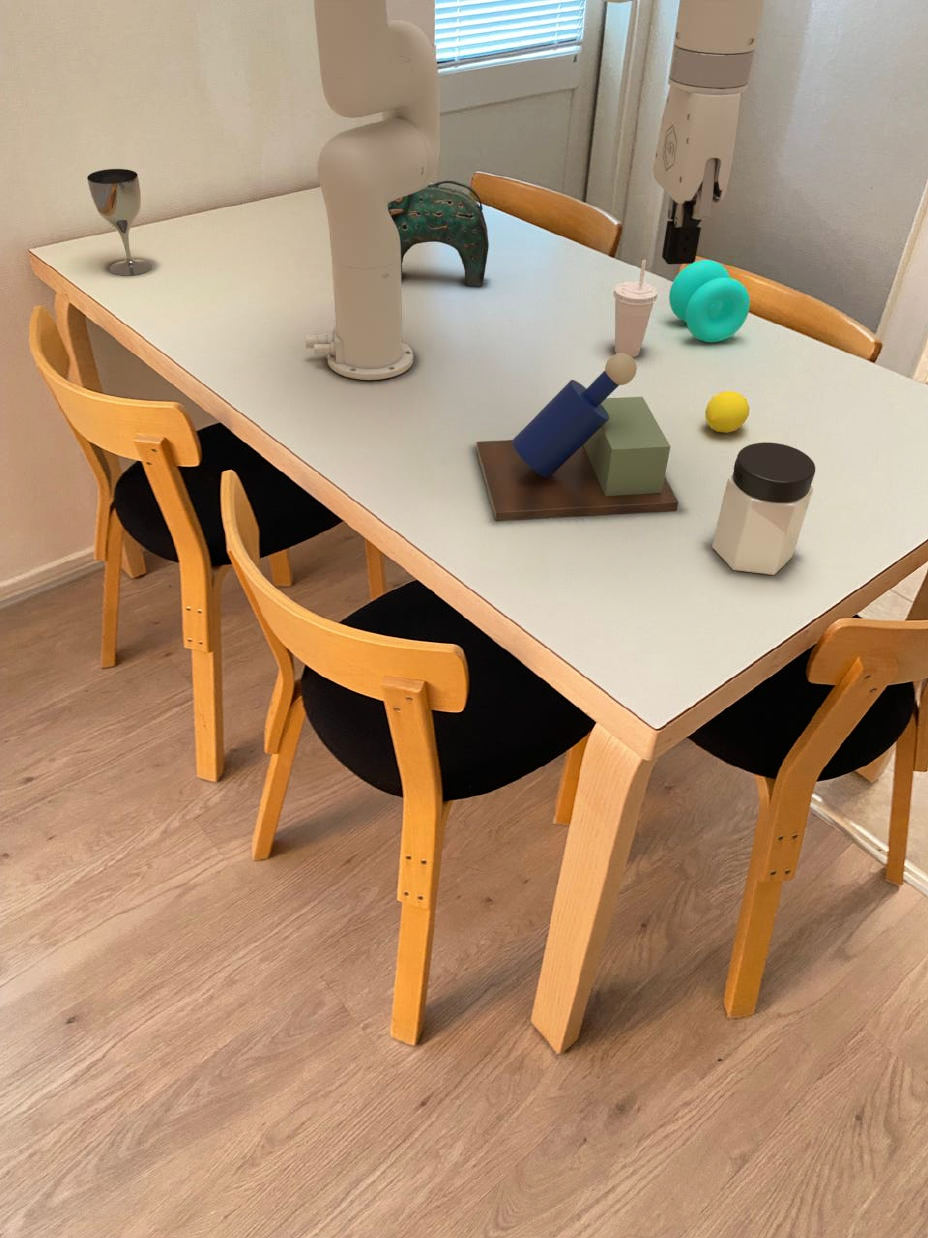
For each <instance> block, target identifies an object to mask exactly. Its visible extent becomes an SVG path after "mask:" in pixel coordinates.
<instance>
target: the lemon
mask: <svg viewBox="0 0 928 1238" xmlns="http://www.w3.org/2000/svg"><path fill="white" fill-rule="evenodd" d="M704 415H705V422H706V423H707V424H708V426H709V427H710V429H712V430H713V431H715V432H716V433H726V434H727V433H732V432H734V431H737V430H738V429H740V428H741V427H742V426H743V425H744V424H745V423H746V421H747V419H748V417H749V416H750V406H749V402H748V399H747V398H746V397H745V396H744V395H742V394H741V393H740V392H737V391H734V390H725V391H723V390H722V391H721V392H719V393H717V394H715V395H713V396H712V397H711V399H710V400H709V401H708V402H707V404H706V408H705V411H704Z"/></svg>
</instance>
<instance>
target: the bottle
mask: <svg viewBox="0 0 928 1238" xmlns="http://www.w3.org/2000/svg"><path fill="white" fill-rule="evenodd" d="M637 370H638V367H637V362H636V360H635V359H634V357H631V356H630V355H628V354H626V353H617V354H616V353H614V354H612V355H611V356H610V357H609V358H608V360H607V361H606V363H605V366H604V371H602V373H600V375H598V376H597V377H596V379H595V380H593V381H592V382H591V384H589V385H588V386H587V387H585V386H584V385H583V384H582V383H580V382H579V381H577V380H574V379H570V380H569V382H568V383H566V385H564V387H563V388H561V390H559V392H558V393H557V394H556V395H555V396H554V397H553V398H552V399H551V400H550V401H549V402H548V403H547V404H546V405H545V406H544V407H543V408H542V409H541V410H540V411H539V412H538V413H537V414H536V416H534V418H532V419H531V421H529V423H528V424H527V425H526V426H524V428H522V429H521V430H520V432H518V434H516V436H515V437H514V438H513V439H512V440H513V446H514V448H515V450H516V451H517V453H518V454H519V455H520V457H521V458H522V459H523V460H524V461H525V462H526V464H527V465H529V466H530V467H531V468H532V469H533V470H534V471H536V472H537V473H538V474H540V475H542V476H544V477H546V478H549V477H551V476H552V475H553V474H554V473H555V472H556V471H557V470H558V469H559V468H560V467H561V466H562V465H563V464H564V463H565V462H566V461H567V460H568V459H569V458H570V457H571V456H572V455H573V454H574V453H575V452H576V451H577V450H578V449H579V448H580V447H581V446H582V445H583V444H584V443H585V442H586V441H588V440H589V439H590V438H591V437H592V436H593V435H594V434H595V433H596V432H597V431H598V430H599V429H600V428H601V427H602V426H603V425H604V424H605V423H606V422H607V421H608V420H609V415H608V413H607V411H606V410H605V408H604V407H603V406H602V404H601V403H602V402H603V401H604V400H605V399H606V398H609V397H610V395H611V394H612V393H613V392H614V391H615V390H616V389H617V388H618V387H619V386H625V385H627V384H629V383H631V382H632V381H633V380H634V378H635V376H636V374H637Z"/></svg>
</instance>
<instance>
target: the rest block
mask: <svg viewBox="0 0 928 1238" xmlns="http://www.w3.org/2000/svg"><path fill="white" fill-rule="evenodd" d="M601 404H602V406H603V407H604V408H605V410H606V411H607V413H608V415H609V420H608V421H607V422H606V423H605V424H604V425H603V426H602V427H601V428H600V429H599V430H598V431H597V432H596V433H595V434H594V435H593V436H592V437H591V438H590V439H589V440H588V441H586V442H585V443H584V444H583V446H584V448H585V450H586V453H587V455H588V457H589V460H590V462H591V464H592V467H593V469H594V471H595V474H596V476H597V478H598V480H599V483H600V485H601V487H602V490H603V492H604V494H605V496H620V495H638V494H656V493H662V489H663V484H664V478H666V472H667V468H668V467H667V466H668V463H669V457H670V453H671V445H670V443H669V441H668V439H667V438H666V435H665V434H664V432H663V430H662V428H661V427H660V425H659V422H657V420H656V418H655V416H654V414H653V412H652V411H651V408H650V407H649V404H647V402H646V400H645V398H644V397H643V396H629V397H628V396H627V397H625V396H623V397H607V398H606V399H605V400H604V401H603V402H602V403H601Z"/></svg>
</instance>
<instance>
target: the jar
mask: <svg viewBox="0 0 928 1238" xmlns="http://www.w3.org/2000/svg"><path fill="white" fill-rule="evenodd" d="M733 464H734V465H733V472H732V474H731V475H730V476H729V477H728V478H727V481H726V485H725V489H724V490H725V491H724V494H723V499H722V502H721V506H720V510H719V515H718V519H717V524H716V526H715V531H714V537H713V540H712V545H711V547H712V549H713V550H714V551H715V552H716V554H718V555H719V557H720V558H721V559H722V560H723V561H724V562H725V563H726V564H727V565H728V566H729V567H730V568H731V569H732V570H733V571H740V572H746V573H754V574H755V573H756V574H763V575H771V576H774V575H776V574H777V573H778V572H779V571H780V570H781V569H782V568H783V567H784V566H785V565H786V564H787V563H788V562H789V561H790V560H791V559H792V557H793V556H794V553H795V550H796V546H797V543H798V540H799V537H800V534H801V530H802V527H803V524H804V521H805V517H806V514H807V511H808V508H809V504H810V502H811V497H812V495H813V491H814V487H813V486H812V484H813V481H814V477H815V474H816V465H815V462H814V461H813V459H812V458H811V457H810V456H809V455H808V454H806V453H805V452H803V451H801V450H799V449H798V448H795V447H793V446H790V445H787V444H783V443H777V442H769V441H768V442H766V441H765V442H764V441H763V442H756V443H752V444H748V445H746V446H744V447H743V448H741V449H740V450H739V451H738V453H737V455H736V458H735V460H734V463H733Z"/></svg>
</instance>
